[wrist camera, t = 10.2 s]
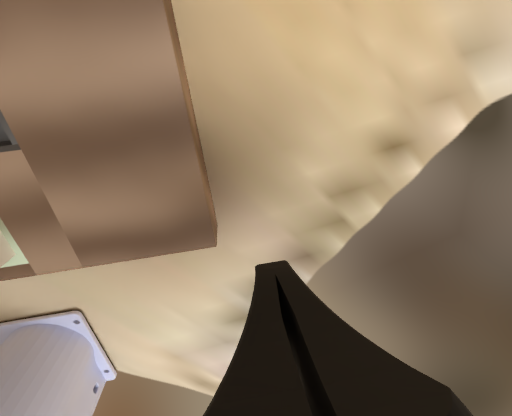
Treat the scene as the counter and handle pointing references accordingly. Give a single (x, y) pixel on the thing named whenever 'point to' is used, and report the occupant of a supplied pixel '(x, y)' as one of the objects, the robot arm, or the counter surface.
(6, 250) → the block
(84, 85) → the trap board
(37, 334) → the robot arm
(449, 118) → the counter surface
